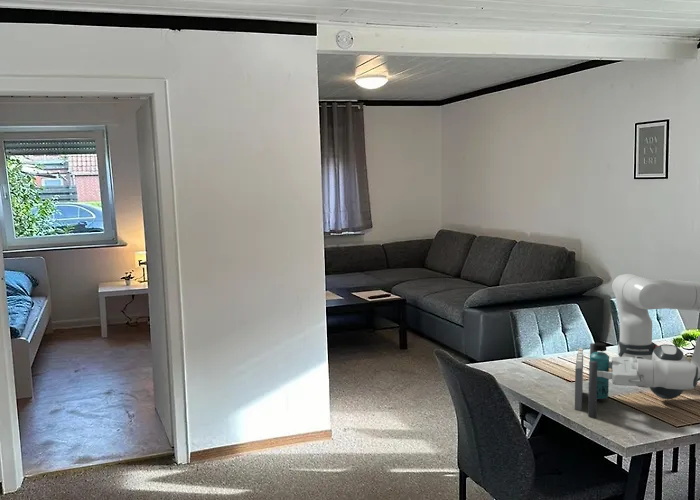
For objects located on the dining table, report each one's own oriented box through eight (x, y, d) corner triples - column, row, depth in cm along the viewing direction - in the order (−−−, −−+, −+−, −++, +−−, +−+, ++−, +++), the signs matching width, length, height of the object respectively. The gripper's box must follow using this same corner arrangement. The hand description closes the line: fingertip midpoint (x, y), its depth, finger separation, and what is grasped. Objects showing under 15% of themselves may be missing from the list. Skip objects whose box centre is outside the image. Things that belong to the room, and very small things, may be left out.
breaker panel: (582, 392, 223) (583, 347, 221) (581, 410, 207) (582, 362, 205) (576, 391, 224) (577, 347, 222) (574, 409, 207) (575, 361, 205)
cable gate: (596, 392, 222) (597, 343, 220) (596, 418, 200) (597, 363, 197) (589, 392, 223) (590, 343, 221) (588, 417, 200) (589, 362, 198)
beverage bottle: (584, 397, 218) (585, 341, 216) (603, 396, 219) (604, 340, 216) (593, 404, 212) (594, 346, 209) (612, 402, 212) (613, 345, 210)
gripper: (644, 392, 195) (596, 388, 200) (640, 372, 214) (596, 369, 219) (644, 373, 194) (596, 368, 199) (640, 354, 213) (597, 351, 218)
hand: (596, 368), depth 209 cm, fingers open, 8 cm apart
